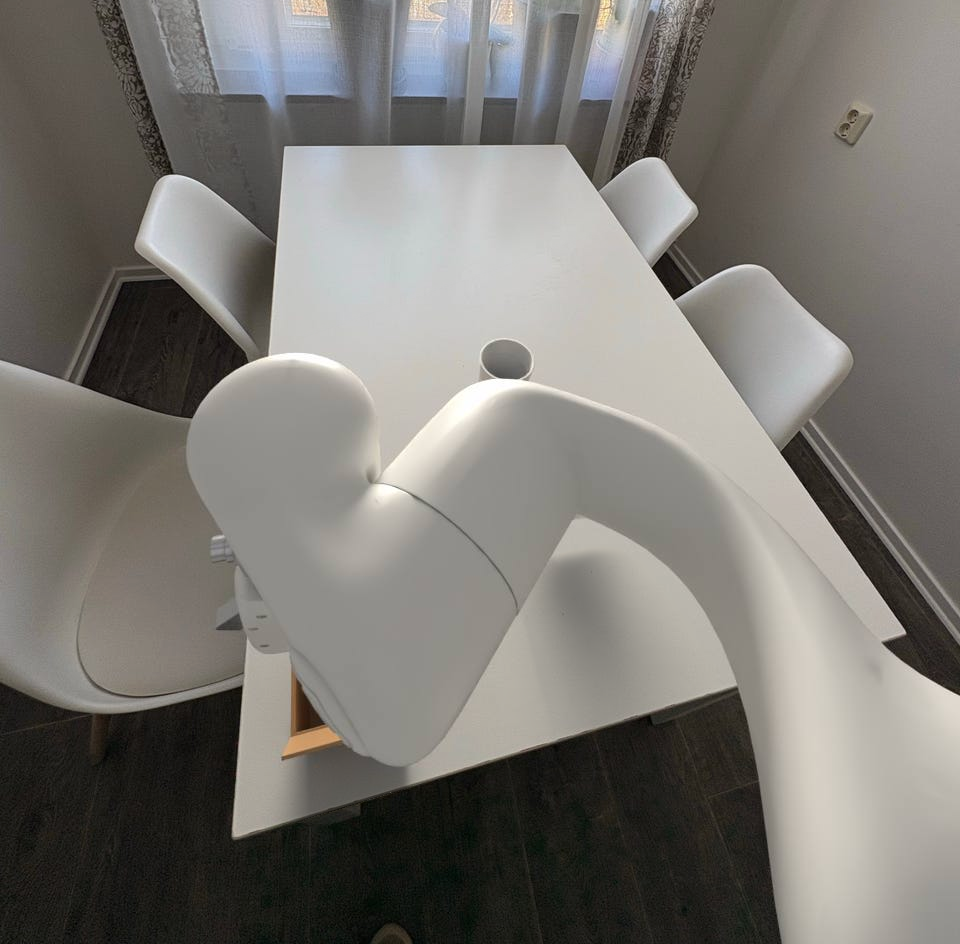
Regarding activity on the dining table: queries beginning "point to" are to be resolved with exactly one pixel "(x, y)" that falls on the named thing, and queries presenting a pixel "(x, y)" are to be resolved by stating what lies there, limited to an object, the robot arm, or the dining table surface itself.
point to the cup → (505, 360)
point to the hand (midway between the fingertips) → (342, 623)
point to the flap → (310, 743)
